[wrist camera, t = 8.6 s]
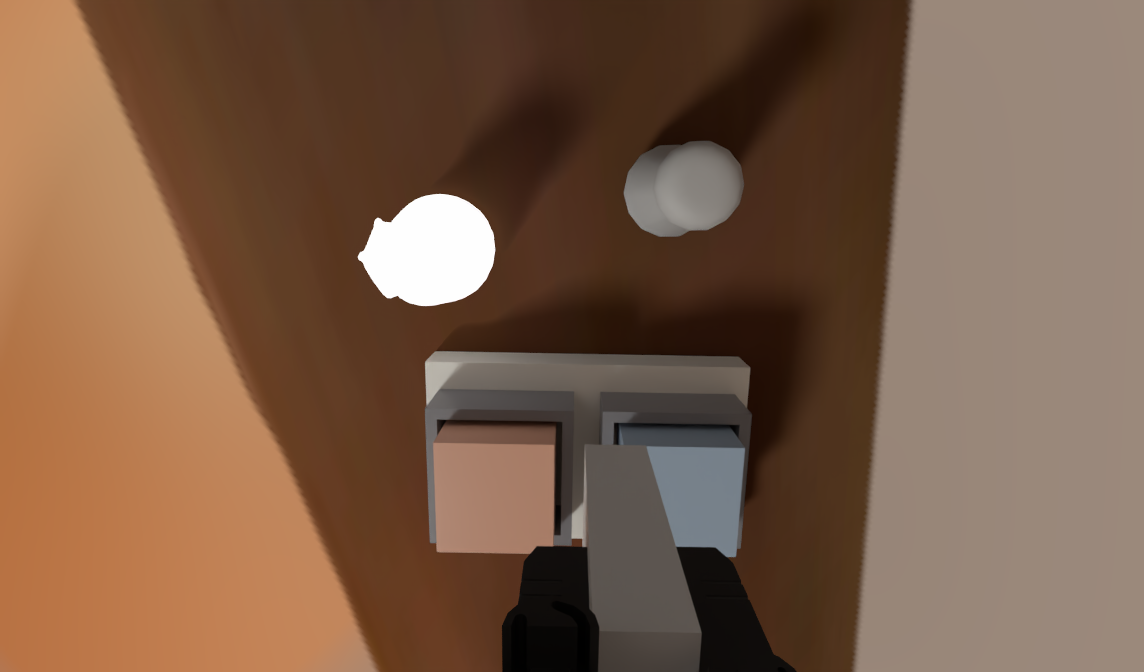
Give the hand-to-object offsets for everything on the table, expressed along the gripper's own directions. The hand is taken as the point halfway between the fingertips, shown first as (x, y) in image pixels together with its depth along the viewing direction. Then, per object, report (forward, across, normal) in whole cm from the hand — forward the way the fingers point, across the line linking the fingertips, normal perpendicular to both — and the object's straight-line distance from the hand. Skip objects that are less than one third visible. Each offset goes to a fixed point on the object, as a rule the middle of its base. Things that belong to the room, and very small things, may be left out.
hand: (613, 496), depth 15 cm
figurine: (+29, -10, +4) cm, 31 cm away
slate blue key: (+24, +5, -10) cm, 26 cm away
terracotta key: (+24, -5, -10) cm, 26 cm away
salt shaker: (+29, +5, +8) cm, 30 cm away
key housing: (+28, 0, -10) cm, 30 cm away
